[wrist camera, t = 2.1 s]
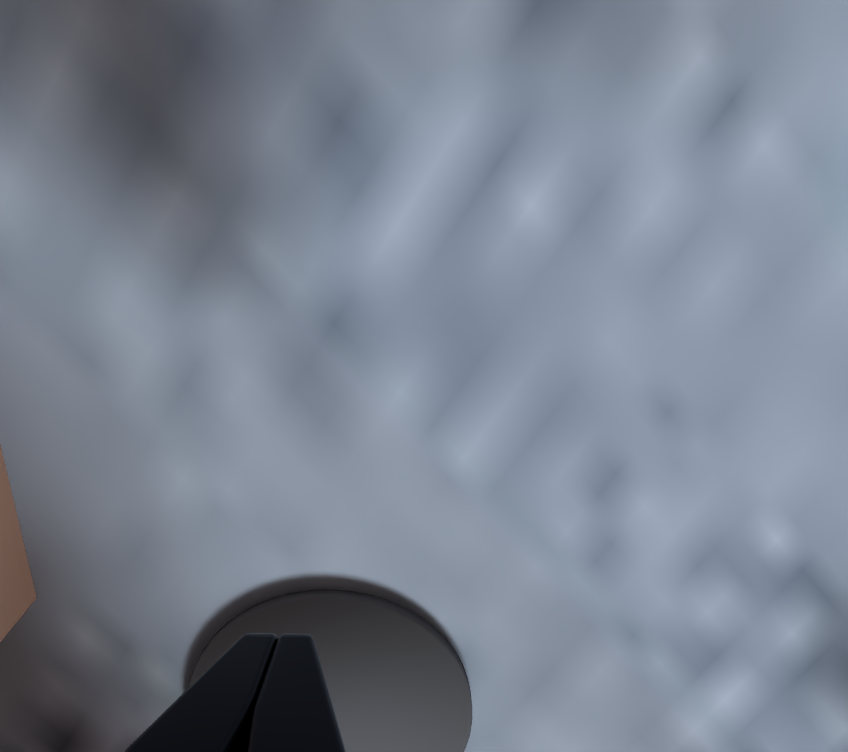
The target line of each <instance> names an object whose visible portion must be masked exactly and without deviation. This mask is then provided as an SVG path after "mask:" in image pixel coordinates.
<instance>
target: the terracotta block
mask: <svg viewBox="0 0 848 752" xmlns="http://www.w3.org/2000/svg"><path fill="white" fill-rule="evenodd" d="M36 598H37V597H36V592H35V588H34V584H33V580H32V576H31V571H30V567H29V563H28V559H27V555H26V550H25V546H24V542H23V538H22V534H21V529H20V525H19V521H18V517H17V513H16V508H15V504H14V500H13V496H12V492H11V487H10V483H9V479H8V475H7V471H6V466H5V462H4V458H3V454H2V450H1V445H0V642H1V641H2V640H3V638H4V637H5V636H6V635H7V633H8V632H9V631H10V630H11V629H12V627H13V626H14V625H15V624H16V623H17V621H18V620H19V619H20V618H21V616H22V615H23V614H24V613H25V612H26V610H27V609H28V608H29V607H30V605H31V604H32V603H33V602H34V601H35V599H36Z"/></svg>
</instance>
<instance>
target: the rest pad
mask: <svg viewBox="0 0 848 752" xmlns="http://www.w3.org/2000/svg"><path fill="white" fill-rule="evenodd" d="M246 633H273V634H276V635H277V636H278V638H279V637H280V636H281V635H282V634H310V635H311V636H312V637H313V638H314V641H315V645H316V649H317V652H318V656H319V659H320V663H321V666H322V670H323V673H324V677H325V680H326V684H327V687H328V691H329V694H330V698H331V701H332V705H333V708H334V712H335V715H336V719H337V723H338V726H339V730H340V733H341V737H342V740H343V744H344V747H345V751H346V752H464V750H465V748H466V745H467V742H468V739H469V736H470V731H471V725H472V701H471V693H470V687H469V682H468V678H467V676H466V673H465V670H464V667H463V665H462V663H461V661H460V659H459V658H458V656H457V654H456V652H455V651H454V650H453V648H452V647H451V646H450V644H449V643H448V642H447V640H446V639H445V638H444V637H443V636H442V635H441V634H440V633H439V632H438V631H437V630H436V629H435V628H434V627H432V626H431V625H430V624H428V623H427V622H426V621H424V620H423V619H422V618H420V617H419V616H417V615H415V614H414V613H412V612H410V611H409V610H407V609H405V608H403V607H401V606H398V605H396V604H394V603H391V602H389V601H387V600H383V599H380V598H377V597H374V596H370V595H366V594H360V593H355V592H349V591H336V590H317V591H305V592H298V593H292V594H288V595H284V596H280V597H276V598H273V599H270V600H268V601H265V602H263V603H260V604H258V605H255V606H253V607H252V608H250V609H248V610H246V611H244V612H243V613H241V614H239V615H238V616H236V617H235V618H234V619H232V620H231V621H230V622H228V623H227V624H226V625H225V626H224V627H223V628H222V629H221V630H220V631H219V632H218V633H217V634H216V635H215V636H214V637H213V638H212V639H211V641H210V642H209V643H208V645H207V646H206V647H205V649H204V651H203V653H202V655H201V656H200V658H199V660H198V662H197V664H196V667H195V669H194V672H193V675H192V678H191V681H190V684H189V687H190V686H191V685H192V684H193V683H194V682H195V681H196V680H198V679H199V678H200V677H201V676H202V675H203V674H204V673H205V672H206V671H207V670H208V669H209V668H210V667H211V666H212V665H213V664H214V663H215V662H216V661H217V660H218V659H219V658H220V657H221V656H222V655H223V654H224V653H225V652H226V651H227V650H228V649H229V648H230V647H231V646H232V645H233V644H234V643H235V642H236V641H237V640H238V639H239V638H240V637H242V636H243V635H245V634H246ZM189 687H188V688H189Z"/></svg>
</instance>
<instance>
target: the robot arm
mask: <svg viewBox="0 0 848 752" xmlns="http://www.w3.org/2000/svg"><path fill="white" fill-rule="evenodd" d="M124 752H346V751H345V747H344V744H343V740H342V737H341V733H340V730H339V726H338V723H337V719H336V715H335V712H334V708H333V705H332V701H331V698H330V694H329V691H328V687H327V684H326V680H325V677H324V673H323V670H322V666H321V663H320V659H319V656H318V652H317V649H316V645H315V641H314V638H313V637H312V636H311V635H310V634H282V635H281V636H280V637H279V638H278V636H277V635H276V634H273V633H246V634H245V635H243V636H242V637H240V638H239V639H238V640H237V641H236V642H235V643H234V644H233V645H232V646H231V647H230V648H229V649H228V650H227V651H226V652H225V653H224V654H223V655H222V656H221V657H220V658H219V659H218V660H217V661H216V662H215V663H214V664H213V665H212V666H211V667H210V668H209V669H208V670H207V671H206V672H205V673H204V674H203V675H202V676H201V677H200V678H199V679H198V680H196V681H195V682H194V683H193V684H192V685H191V686H190V687H189V688H188V689H187V690H186V691H185V692H184V693H183V694H182V695H181V696H180V697H179V698H178V699H177V700H176V701H175V702H174V703H173V704H172V705H171V706H170V707H169V708H168V709H167V710H166V711H165V712H164V713H163V714H162V715H161V716H160V717H159V718H158V719H157V720H156V721H155V722H154V723H153V724H152V725H151V726H149V727H148V728H147V729H146V730H145V731H144V732H143V733H142V734H141V735H140V736H139V737H138V738H137V739H136V740H135V741H134V742H133V743H132V744H131V745H130V746H129V747H128V748H127V749H126V750H125V751H124Z"/></svg>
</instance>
